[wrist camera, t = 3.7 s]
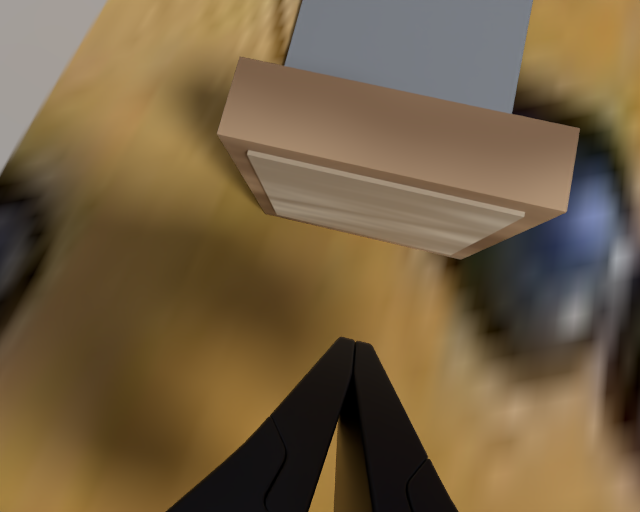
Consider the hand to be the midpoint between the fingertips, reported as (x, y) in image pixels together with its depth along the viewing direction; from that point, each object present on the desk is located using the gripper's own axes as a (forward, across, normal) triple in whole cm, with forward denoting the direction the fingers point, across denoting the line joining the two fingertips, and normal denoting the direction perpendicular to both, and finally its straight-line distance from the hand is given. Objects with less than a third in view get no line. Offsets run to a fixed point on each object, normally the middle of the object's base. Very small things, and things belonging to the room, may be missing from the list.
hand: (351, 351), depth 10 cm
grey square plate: (+17, 0, +4) cm, 17 cm away
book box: (+11, 0, -2) cm, 11 cm away
